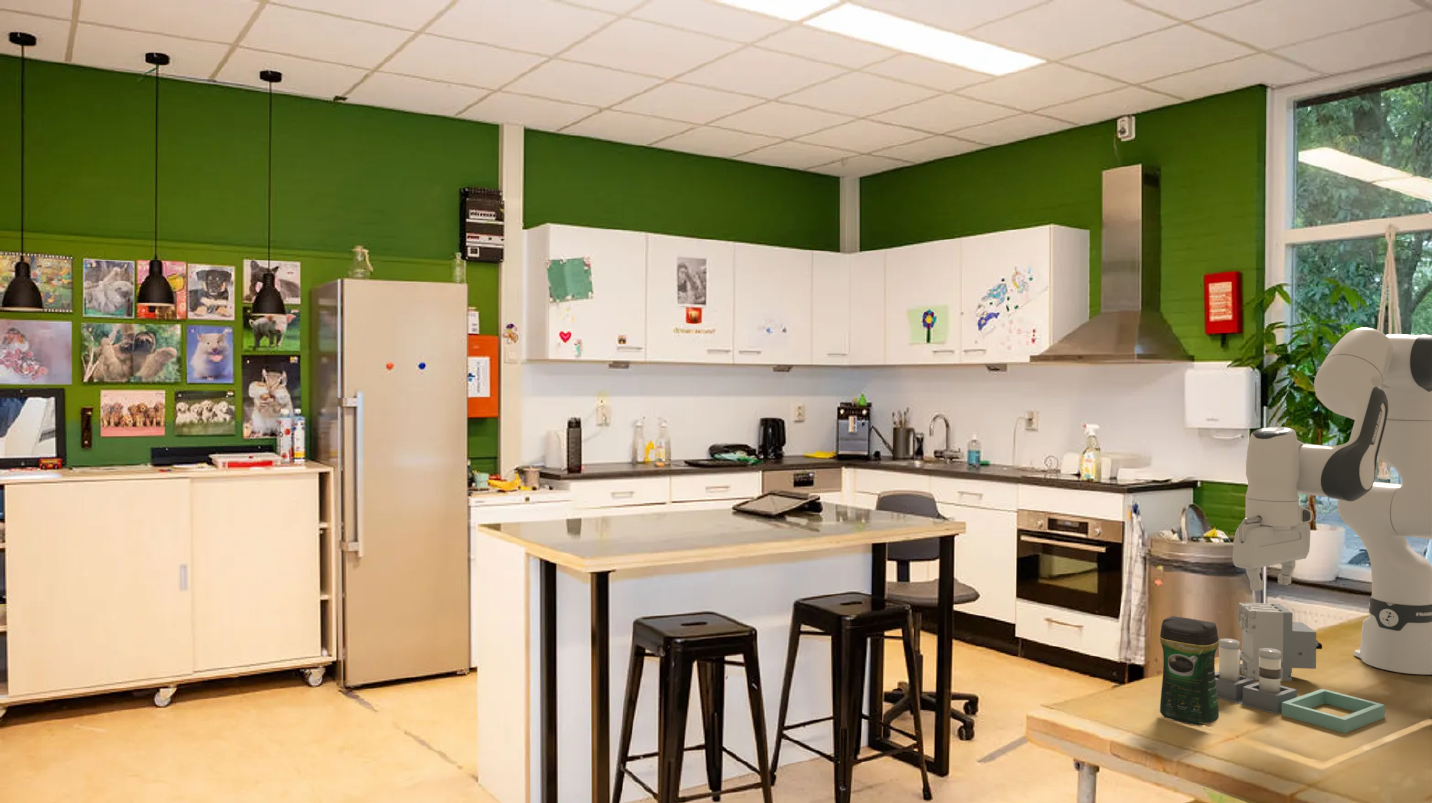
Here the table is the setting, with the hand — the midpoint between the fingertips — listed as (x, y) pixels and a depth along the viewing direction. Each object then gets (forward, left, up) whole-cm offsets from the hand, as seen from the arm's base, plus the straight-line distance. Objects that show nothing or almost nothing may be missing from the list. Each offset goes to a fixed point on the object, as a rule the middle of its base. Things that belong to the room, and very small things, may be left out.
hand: (1270, 587), depth 193 cm
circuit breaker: (-19, -8, -24) cm, 31 cm away
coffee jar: (+17, -5, -24) cm, 29 cm away
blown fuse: (0, 0, -22) cm, 22 cm away
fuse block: (0, -4, -23) cm, 24 cm away
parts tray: (-3, +10, -23) cm, 26 cm away
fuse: (0, -8, -22) cm, 24 cm away
